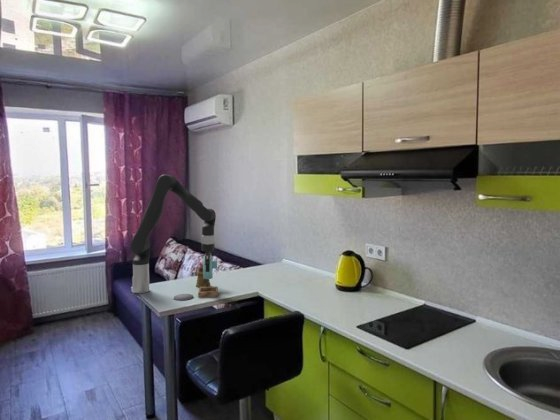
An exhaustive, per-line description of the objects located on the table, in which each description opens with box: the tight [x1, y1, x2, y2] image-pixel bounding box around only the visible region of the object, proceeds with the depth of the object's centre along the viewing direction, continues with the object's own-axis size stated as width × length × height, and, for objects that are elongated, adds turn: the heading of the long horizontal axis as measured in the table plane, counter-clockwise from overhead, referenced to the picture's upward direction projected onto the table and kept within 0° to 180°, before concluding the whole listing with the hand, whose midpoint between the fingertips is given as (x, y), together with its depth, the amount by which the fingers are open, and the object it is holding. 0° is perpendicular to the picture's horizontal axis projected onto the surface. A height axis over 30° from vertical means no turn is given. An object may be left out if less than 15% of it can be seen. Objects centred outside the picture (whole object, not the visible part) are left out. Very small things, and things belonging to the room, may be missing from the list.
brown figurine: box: [195, 267, 211, 289], centre depth 248 cm, size 9×14×18 cm, turn 43°
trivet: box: [173, 293, 194, 302], centre depth 226 cm, size 11×11×1 cm
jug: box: [202, 255, 218, 280], centre depth 232 cm, size 8×6×13 cm
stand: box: [197, 286, 219, 298], centre depth 233 cm, size 11×11×3 cm
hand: (207, 270), depth 232 cm, fingers closed on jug, 5 cm apart
